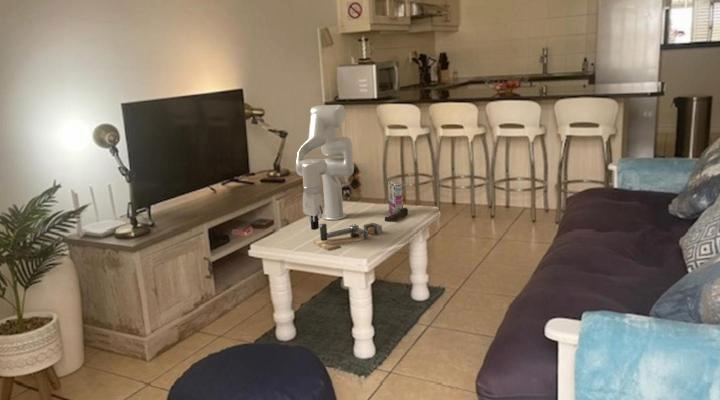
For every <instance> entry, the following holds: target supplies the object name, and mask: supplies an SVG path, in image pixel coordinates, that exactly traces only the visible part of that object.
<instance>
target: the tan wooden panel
mask: <svg viewBox="0 0 720 400" xmlns="http://www.w3.org/2000/svg"><path fill="white" fill-rule="evenodd" d="M382 225H383V224H382ZM382 225H381V224H378V223H375V222H371V223H367V224H366V223H365V224H363V230H366V231H367V230H368V228H369V227H374V228H375V233H374V234H372V235H371V234H369V233H368V236H369V238H375V237H379V236H382V235H384V233H383V228H382V227H383V226H382ZM369 238H368V239H369ZM327 239H328V240H325V241H322V240H321V239H317V240H314V241H313V244H314V245H315V246H318V247H320V248H321V249H323V250H326V251H330V250H335V249H339V248H342V245H346V244H349V243H354V242H357V241H362V240H366V238H364V237H363V234H361V235H359V236H357V237H351V236H350V233H348V234H344V235H339V236H335V237H331V238H327Z"/></svg>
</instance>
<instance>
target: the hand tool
mask: <svg viewBox="0 0 720 400" xmlns="http://www.w3.org/2000/svg"><path fill="white" fill-rule="evenodd" d="M408 215H409V209H408V207H403V208H402V209H400V211H399V212H397V213H395V214H391V215H390V214H389V215H388V216H385V217H384V222H387V223H391V222H396V221H397V220H399V219H401V218H406V217H407V216H408Z"/></svg>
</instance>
